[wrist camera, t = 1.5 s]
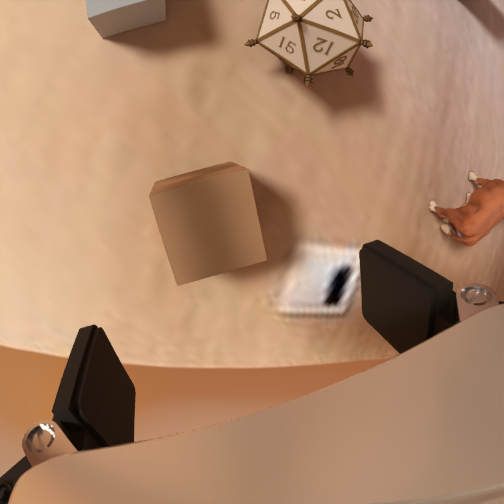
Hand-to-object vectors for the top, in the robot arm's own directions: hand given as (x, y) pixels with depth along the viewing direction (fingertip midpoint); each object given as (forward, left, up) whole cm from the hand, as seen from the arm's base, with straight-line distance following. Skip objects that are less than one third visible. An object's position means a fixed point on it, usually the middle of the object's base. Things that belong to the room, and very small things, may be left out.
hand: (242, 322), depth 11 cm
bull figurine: (-28, +5, -16) cm, 33 cm away
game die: (-10, -12, -16) cm, 22 cm away
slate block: (+2, -18, -16) cm, 24 cm away
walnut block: (0, 0, -16) cm, 16 cm away
